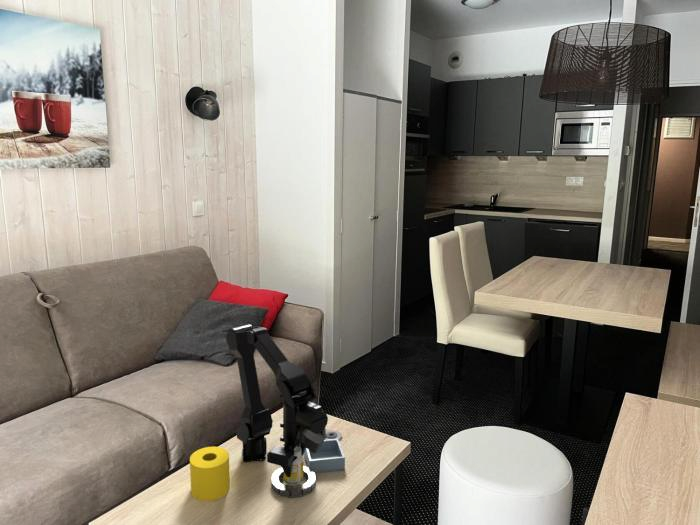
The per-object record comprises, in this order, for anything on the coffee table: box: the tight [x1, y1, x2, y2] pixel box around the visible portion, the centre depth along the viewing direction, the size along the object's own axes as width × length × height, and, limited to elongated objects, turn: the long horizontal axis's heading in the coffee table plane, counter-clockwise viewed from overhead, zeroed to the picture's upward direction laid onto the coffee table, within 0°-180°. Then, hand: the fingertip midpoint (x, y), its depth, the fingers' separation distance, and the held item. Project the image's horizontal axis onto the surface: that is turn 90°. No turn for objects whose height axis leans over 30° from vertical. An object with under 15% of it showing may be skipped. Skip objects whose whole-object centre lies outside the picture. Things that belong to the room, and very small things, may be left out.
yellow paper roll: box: [189, 446, 231, 502], centre depth 142 cm, size 10×10×9 cm
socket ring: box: [270, 465, 317, 499], centre depth 146 cm, size 12×12×2 cm
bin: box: [304, 439, 346, 474], centre depth 157 cm, size 10×10×4 cm
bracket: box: [325, 428, 343, 441], centre depth 171 cm, size 7×10×4 cm, turn 67°
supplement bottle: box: [283, 447, 305, 487], centre depth 145 cm, size 5×5×10 cm
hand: (293, 470), depth 146 cm, fingers closed on supplement bottle, 5 cm apart
